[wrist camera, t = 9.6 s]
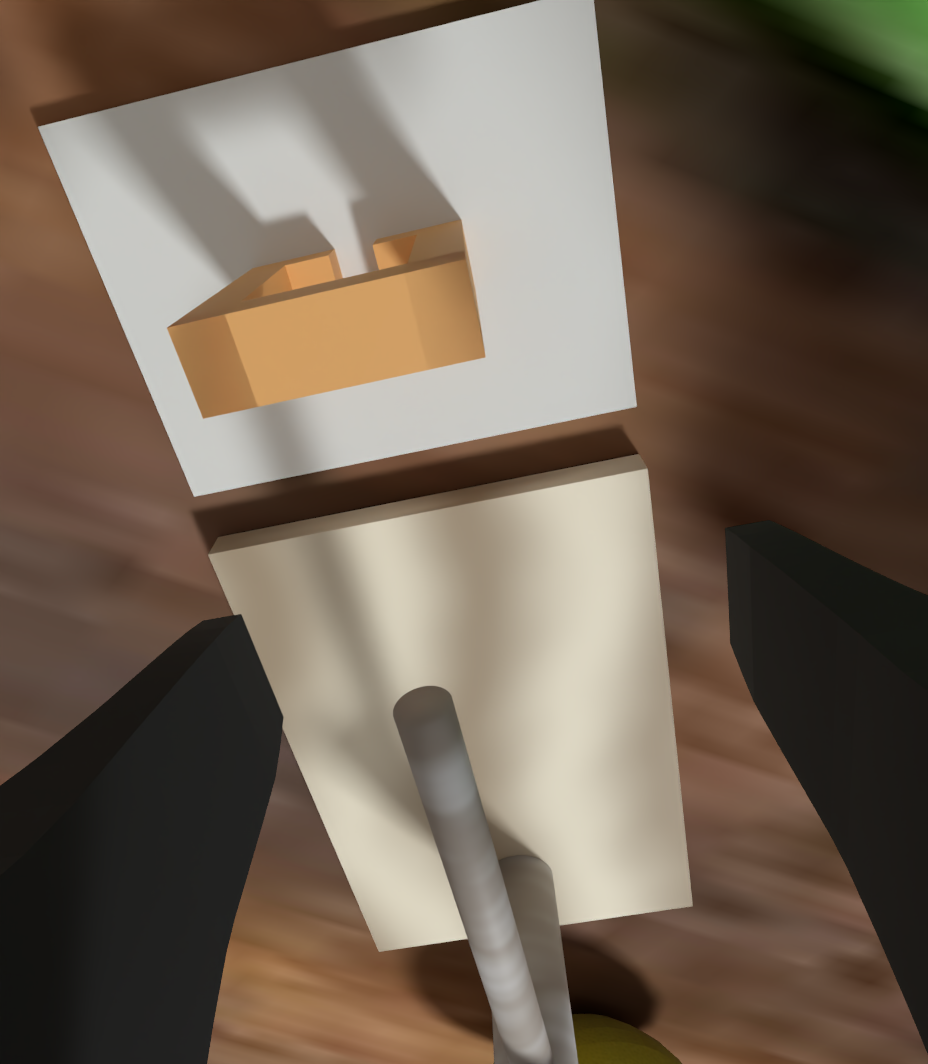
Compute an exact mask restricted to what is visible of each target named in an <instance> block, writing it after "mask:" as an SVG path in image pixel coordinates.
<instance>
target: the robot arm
mask: <svg viewBox="0 0 928 1064" xmlns="http://www.w3.org/2000/svg"><path fill="white" fill-rule="evenodd" d="M725 535H726V557H727V579H728V601H729V622H730V644H731V646H732V649H733V651H734V654H735V656H736V659H737V662H738V664H739V667H740V669H741V672H742V674H743V677H744V679H745V682H746V684H747V686H748V689H749V691H750V693H751V696H752V698H753V701H754V703H755V705H756V706H757V708H758V710H759V712H760V714H761V715H762V717H763V719H764V721H765V722H766V724H767V726H768V728H769V729H770V731H771V733H772V735H773V737H774V738H775V740H776V742H777V744H778V745H779V747H780V749H781V751H782V752H783V754H784V756H785V757H786V759H787V761H788V763H789V764H790V766H791V768H792V770H793V771H794V773H795V775H796V777H797V778H798V780H799V782H800V783H801V785H802V787H803V789H804V790H805V792H806V794H807V796H808V797H809V799H810V801H811V803H812V804H813V806H814V808H815V809H816V811H817V813H818V815H819V816H820V818H821V820H822V822H823V823H824V825H825V827H826V828H827V830H828V832H829V834H830V836H831V837H832V839H833V841H834V843H835V845H836V847H837V849H838V851H839V853H840V855H841V857H842V859H843V860H844V862H845V864H846V866H847V868H848V871H849V873H850V875H851V877H852V879H853V882H854V884H855V886H856V888H857V891H858V893H859V895H860V897H861V899H862V902H863V904H864V906H865V908H866V911H867V913H868V915H869V917H870V920H871V922H872V924H873V926H874V928H875V931H876V933H877V935H878V937H879V940H880V942H881V944H882V947H883V949H884V951H885V954H886V956H887V958H888V961H889V963H890V965H891V968H892V970H893V972H894V975H895V977H896V979H897V982H898V984H899V986H900V989H901V991H902V993H903V996H904V998H905V1000H906V1003H907V1005H908V1007H909V1010H910V1012H911V1014H912V1017H913V1019H914V1021H915V1024H916V1026H917V1029H918V1031H919V1034H920V1036H921V1039H922V1041H923V1044H924V1046H925V1048H926V1051H927V1053H928V596H927V595H925V594H923V593H920V592H918V591H916V590H913V589H911V588H909V587H907V586H904V585H902V584H900V583H898V582H896V581H893V580H891V579H889V578H887V577H885V576H883V575H881V574H878V573H876V572H874V571H872V570H870V569H868V568H866V567H864V566H862V565H860V564H858V563H856V562H854V561H852V560H850V559H848V558H846V557H844V556H842V555H840V554H838V553H836V552H834V551H832V550H830V549H828V548H826V547H824V546H822V545H820V544H818V543H816V542H814V541H812V540H810V539H808V538H806V537H804V536H802V535H800V534H798V533H796V532H794V531H792V530H790V529H788V528H786V527H784V526H781V525H779V524H777V523H775V522H772V521H770V520H767V521H762V522H756V523H750V524H745V525H739V526H734V527H728V528H725ZM283 718H284V717H283V714H282V712H281V709H280V707H279V704H278V702H277V700H276V697H275V695H274V692H273V690H272V687H271V685H270V683H269V680H268V678H267V675H266V673H265V670H264V668H263V666H262V663H261V661H260V658H259V656H258V653H257V651H256V649H255V646H254V644H253V641H252V639H251V636H250V634H249V632H248V629H247V627H246V624H245V622H244V619H243V617H242V615H241V614H238V615H233V616H227V617H221V618H216V619H210V620H204V621H202V622H201V623H199V624H198V625H196V626H195V627H193V628H192V629H191V630H189V631H188V632H187V633H185V634H184V635H183V636H182V637H181V638H179V639H178V640H177V641H176V642H174V643H173V644H172V645H171V646H170V647H169V648H167V649H166V650H165V651H164V652H163V653H162V654H160V655H159V656H158V657H157V658H156V659H155V660H154V661H152V662H151V663H150V664H149V665H148V666H147V667H146V668H144V669H143V670H142V671H141V672H140V673H139V674H137V675H136V676H135V677H134V678H133V679H132V680H131V681H129V682H128V683H127V684H126V685H125V686H124V687H123V688H121V689H120V690H119V691H118V692H117V693H116V694H115V695H113V696H112V697H111V698H110V699H109V700H108V701H106V702H105V703H104V704H103V705H102V706H101V707H99V708H98V709H97V710H96V711H95V712H93V713H92V714H91V715H90V716H89V717H87V718H86V719H85V720H84V721H82V722H81V723H80V724H79V725H77V726H76V727H75V728H74V729H73V730H71V731H70V732H69V733H68V734H66V735H65V736H64V737H63V738H62V739H60V740H59V741H58V742H57V743H55V744H54V745H53V746H52V747H50V748H49V749H48V750H47V751H46V752H44V753H43V754H42V755H41V756H39V757H38V758H37V759H35V760H34V761H33V762H32V763H30V764H29V765H28V766H26V767H25V768H24V769H22V770H21V771H20V772H18V773H17V774H16V775H14V776H13V777H11V778H10V779H9V780H7V781H6V782H5V783H3V784H2V785H0V1064H207V1060H208V1054H209V1047H210V1041H211V1035H212V1028H213V1022H214V1017H215V1011H216V1006H217V1001H218V995H219V990H220V984H221V979H222V973H223V968H224V962H225V957H226V952H227V948H228V944H229V940H230V936H231V932H232V927H233V923H234V919H235V916H236V912H237V909H238V906H239V902H240V899H241V895H242V892H243V888H244V885H245V882H246V878H247V875H248V871H249V868H250V865H251V861H252V858H253V854H254V851H255V847H256V844H257V841H258V837H259V834H260V830H261V827H262V823H263V820H264V816H265V813H266V809H267V806H268V802H269V799H270V795H271V792H272V788H273V784H274V780H275V776H276V770H277V763H278V757H279V751H280V743H281V734H282V726H283Z"/></svg>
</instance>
